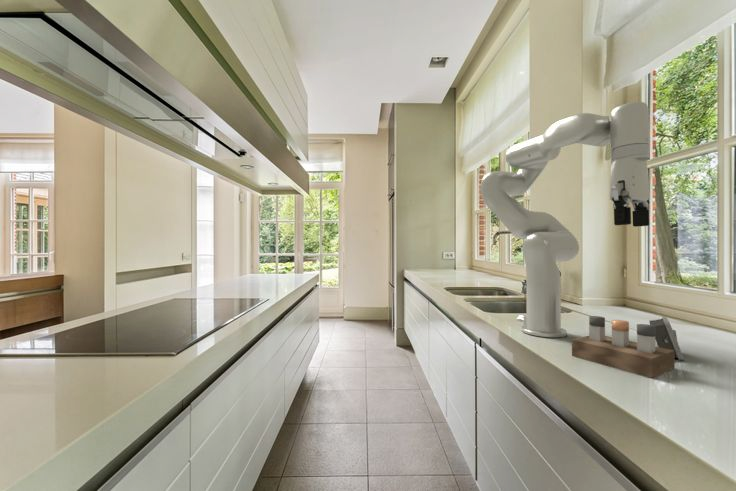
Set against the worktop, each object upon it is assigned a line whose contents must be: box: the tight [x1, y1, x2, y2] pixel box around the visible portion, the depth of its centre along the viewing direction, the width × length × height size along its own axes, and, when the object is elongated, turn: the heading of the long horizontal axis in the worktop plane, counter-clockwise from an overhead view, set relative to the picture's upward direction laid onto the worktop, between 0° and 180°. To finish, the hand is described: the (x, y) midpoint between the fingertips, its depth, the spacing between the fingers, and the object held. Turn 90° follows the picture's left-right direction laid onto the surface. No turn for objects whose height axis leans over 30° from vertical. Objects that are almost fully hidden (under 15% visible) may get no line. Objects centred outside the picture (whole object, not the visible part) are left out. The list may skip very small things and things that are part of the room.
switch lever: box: [588, 315, 606, 342], centre depth 82 cm, size 3×3×6 cm
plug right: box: [636, 323, 656, 354], centre depth 73 cm, size 3×3×6 cm
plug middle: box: [611, 319, 630, 347], centre depth 78 cm, size 3×3×6 cm
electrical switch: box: [648, 315, 684, 361], centre depth 83 cm, size 9×5×9 cm, turn 141°
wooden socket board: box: [571, 335, 676, 379], centre depth 78 cm, size 16×11×4 cm
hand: (632, 225), depth 81 cm, fingers open, 9 cm apart
